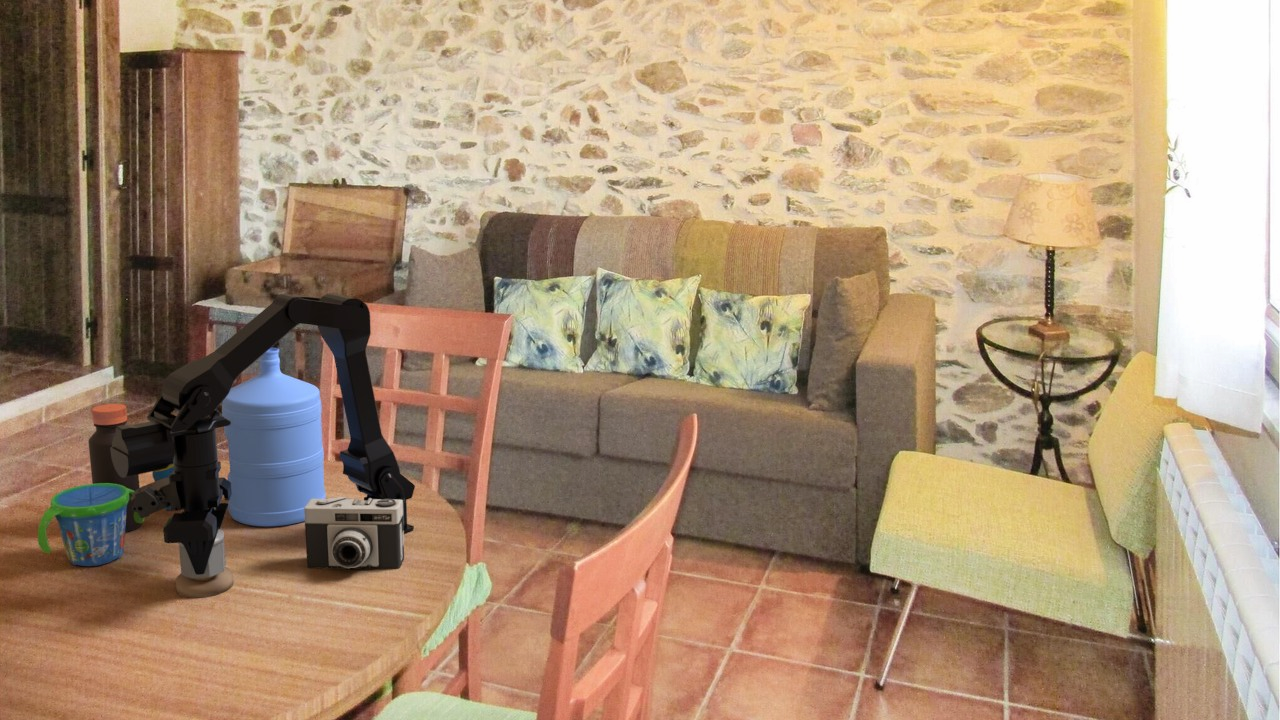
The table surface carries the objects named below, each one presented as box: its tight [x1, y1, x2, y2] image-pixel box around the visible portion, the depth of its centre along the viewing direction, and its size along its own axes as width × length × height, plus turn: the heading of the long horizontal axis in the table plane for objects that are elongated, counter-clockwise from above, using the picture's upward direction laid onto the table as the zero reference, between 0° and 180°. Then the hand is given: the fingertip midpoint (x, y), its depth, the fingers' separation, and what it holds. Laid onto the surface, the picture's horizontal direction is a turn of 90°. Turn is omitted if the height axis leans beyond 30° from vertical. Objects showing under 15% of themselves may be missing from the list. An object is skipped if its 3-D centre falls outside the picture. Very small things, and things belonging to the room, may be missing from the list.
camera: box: [304, 496, 405, 570], centre depth 165 cm, size 14×8×10 cm, turn 91°
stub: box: [175, 566, 234, 599], centre depth 158 cm, size 8×8×5 cm
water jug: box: [221, 347, 327, 528], centre depth 185 cm, size 16×16×28 cm
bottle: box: [88, 403, 143, 533], centre depth 177 cm, size 7×7×20 cm
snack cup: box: [37, 483, 146, 567], centre depth 166 cm, size 16×10×10 cm
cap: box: [178, 528, 227, 579], centre depth 157 cm, size 6×6×5 cm
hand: (203, 565), depth 158 cm, fingers closed on cap, 5 cm apart
